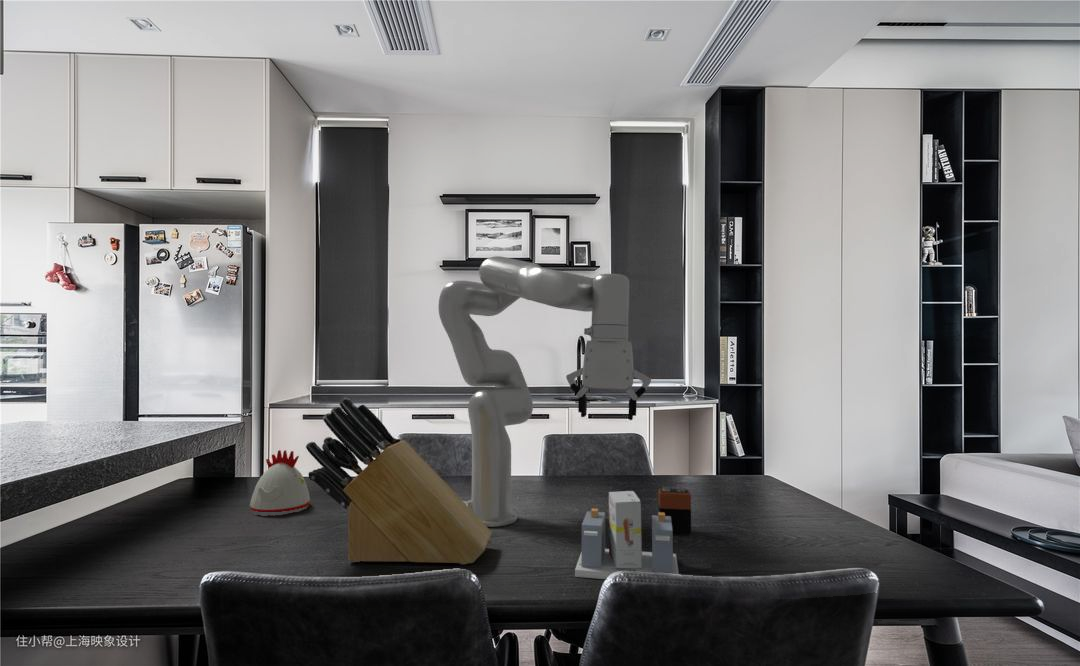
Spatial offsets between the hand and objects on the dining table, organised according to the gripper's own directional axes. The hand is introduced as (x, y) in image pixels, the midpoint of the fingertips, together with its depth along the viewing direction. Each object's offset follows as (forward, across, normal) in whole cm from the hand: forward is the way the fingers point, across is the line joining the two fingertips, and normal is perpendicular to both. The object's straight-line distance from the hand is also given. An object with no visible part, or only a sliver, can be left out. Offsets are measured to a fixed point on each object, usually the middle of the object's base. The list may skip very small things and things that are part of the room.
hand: (606, 417), depth 111 cm
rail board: (+26, +6, -9) cm, 28 cm away
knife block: (+28, -39, -12) cm, 49 cm away
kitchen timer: (+30, -84, +11) cm, 90 cm away
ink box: (+25, +5, -9) cm, 27 cm away
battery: (+27, +14, +15) cm, 34 cm away
